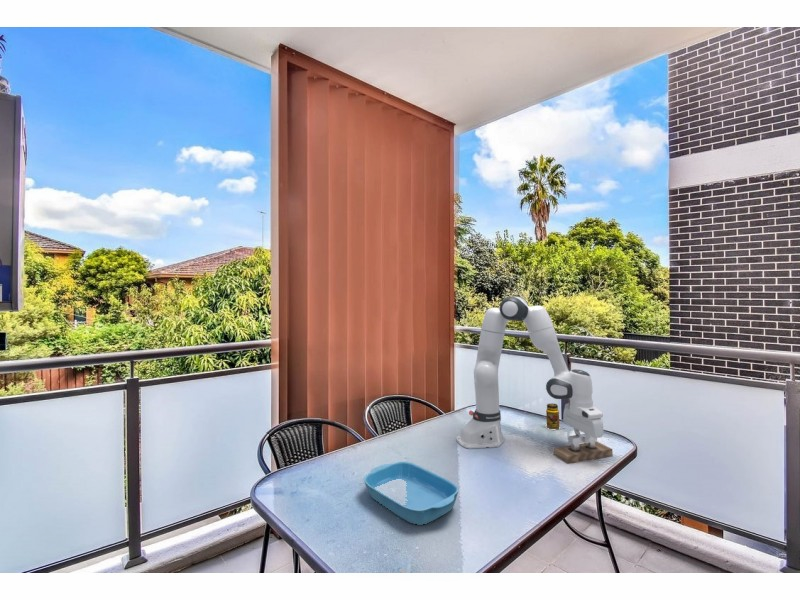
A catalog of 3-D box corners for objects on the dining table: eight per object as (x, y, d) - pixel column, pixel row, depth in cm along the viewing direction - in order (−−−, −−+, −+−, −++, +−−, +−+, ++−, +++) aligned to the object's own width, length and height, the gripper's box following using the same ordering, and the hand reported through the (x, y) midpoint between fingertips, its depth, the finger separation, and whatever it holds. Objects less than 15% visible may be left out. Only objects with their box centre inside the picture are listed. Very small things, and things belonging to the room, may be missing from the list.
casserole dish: (353, 493, 139) (353, 474, 139) (400, 473, 153) (400, 455, 153) (422, 542, 110) (421, 517, 110) (472, 511, 125) (471, 490, 125)
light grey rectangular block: (573, 456, 159) (572, 438, 159) (568, 453, 162) (568, 436, 162) (597, 452, 162) (597, 434, 162) (592, 449, 165) (591, 432, 165)
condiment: (552, 431, 191) (552, 407, 191) (540, 426, 199) (539, 403, 198) (563, 428, 194) (563, 405, 194) (551, 423, 202) (550, 401, 201)
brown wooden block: (567, 463, 155) (567, 456, 155) (553, 454, 164) (553, 448, 164) (612, 456, 160) (612, 448, 160) (596, 447, 169) (596, 441, 169)
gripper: (559, 402, 171) (560, 433, 171) (592, 416, 151) (593, 451, 151) (571, 401, 173) (572, 431, 173) (605, 414, 153) (607, 448, 153)
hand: (582, 440), depth 162 cm, fingers closed on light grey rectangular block, 3 cm apart
